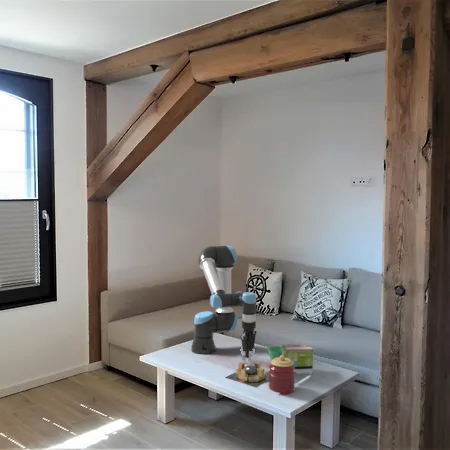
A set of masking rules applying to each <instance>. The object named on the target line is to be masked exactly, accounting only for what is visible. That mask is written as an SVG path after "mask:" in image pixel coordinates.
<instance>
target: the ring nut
mask: <svg viewBox="0 0 450 450" xmlns="http://www.w3.org/2000/svg"><path fill="white" fill-rule="evenodd" d="M237 366H238V367H237V369H235V372H236V376H237V379H239V380H243V381H246V382H247V381H248V382H259V381H262V380H264V379H265V378H266V374H267V373H268V372H267V371H266V370H265V368H263V367H262V362H260V361H256V362H254V366H256V367H257V375H248V369H246V366H247V365H245V362H242V361H241V362H239V363H238V365H237ZM266 372H267V373H266Z"/></svg>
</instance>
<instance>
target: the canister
mask: <svg viewBox="0 0 450 450" xmlns="http://www.w3.org/2000/svg"><path fill="white" fill-rule="evenodd" d="M268 368H269V371H268V373H269V380H268V388H269V390H270V391H272V392H275V393H278V394H279V395H289V394H291V393H294V390H295V375H296V374H295V373H294V369H295V366H294V365H293V361H291V360H290V359H288V358H285V357H284V356H283V355H281V356H280V357H277V358H275V359H273V360H272V361H271V360H270V364H269V365H268Z"/></svg>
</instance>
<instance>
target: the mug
mask: <svg viewBox="0 0 450 450" xmlns="http://www.w3.org/2000/svg"><path fill="white" fill-rule="evenodd" d="M268 355H269V361H270V362H271V361H272V360H273V359H275V358H277V357H280V356H281V355H282V346H276V345H275V346H270V347H268Z"/></svg>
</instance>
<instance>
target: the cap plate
mask: <svg viewBox="0 0 450 450" xmlns="http://www.w3.org/2000/svg"><path fill="white" fill-rule="evenodd" d="M245 366H246V369H248V375H257V367H256V366H255V365H254V364H253V365H251V364H249V365H245ZM266 373H267V374H266V378H265V379H264V380H262V381H259V382H248V381H247V382H246V381H243V380H239V379H237V376H236V371H235V372H233V373H231V374H229V375H227V376H225V377H224V378H225V379H228V380H231V381H234V382H237V383H239V384H244V385H247V386H250V387H253V388H258V387H259V386H261V385H264V384H265V383H266V382H269V372H267V371H266Z"/></svg>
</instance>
